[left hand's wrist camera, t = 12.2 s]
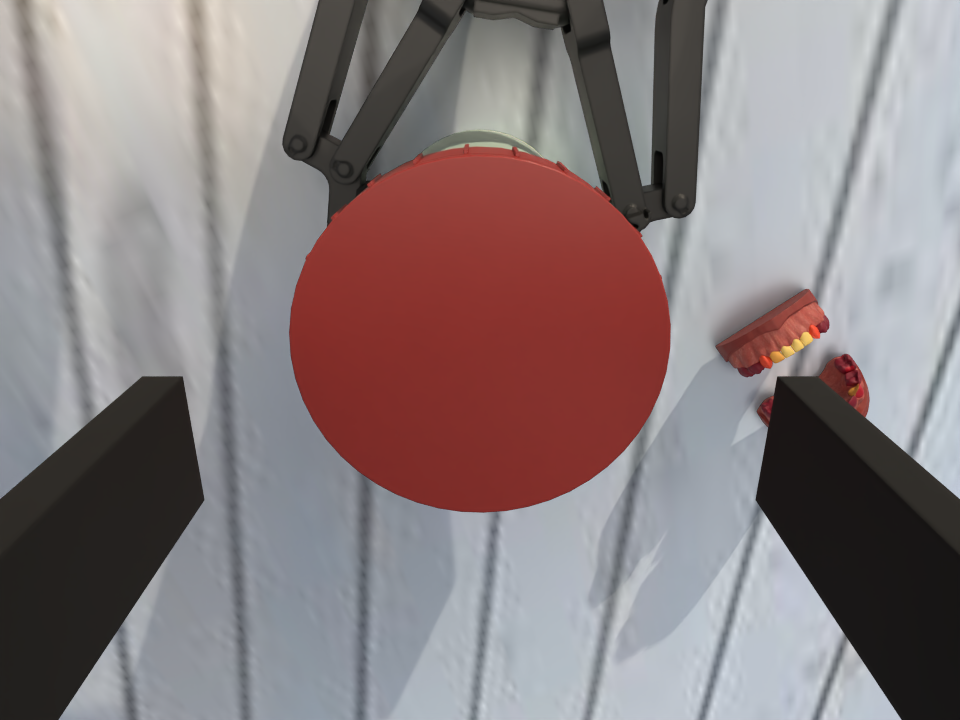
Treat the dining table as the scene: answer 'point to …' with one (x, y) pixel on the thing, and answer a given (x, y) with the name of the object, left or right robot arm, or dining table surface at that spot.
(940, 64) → the dining table surface
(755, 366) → the dental model
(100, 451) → the left robot arm
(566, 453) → the lid
